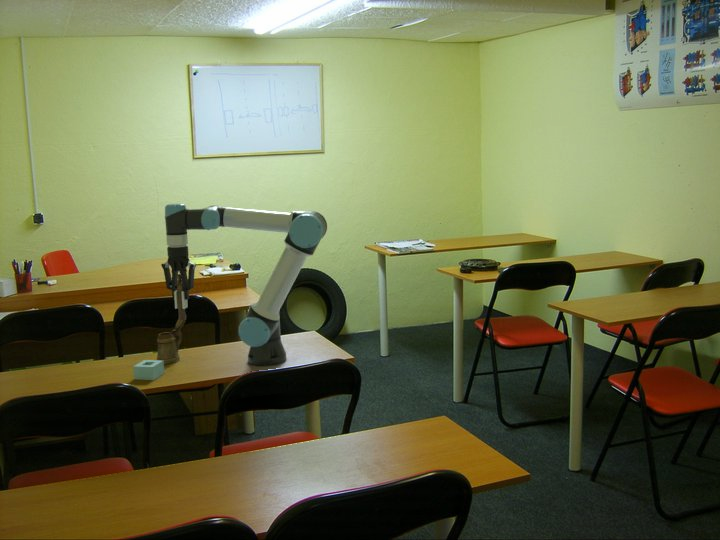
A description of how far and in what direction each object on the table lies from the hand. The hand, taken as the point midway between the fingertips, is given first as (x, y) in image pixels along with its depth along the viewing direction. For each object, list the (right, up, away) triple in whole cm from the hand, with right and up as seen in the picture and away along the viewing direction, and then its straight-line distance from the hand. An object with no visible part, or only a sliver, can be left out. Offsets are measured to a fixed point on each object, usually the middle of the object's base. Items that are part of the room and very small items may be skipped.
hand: (181, 307), depth 261 cm
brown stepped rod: (0, -4, +1) cm, 4 cm away
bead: (-12, -26, 0) cm, 28 cm away
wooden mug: (-8, -22, +21) cm, 32 cm away
